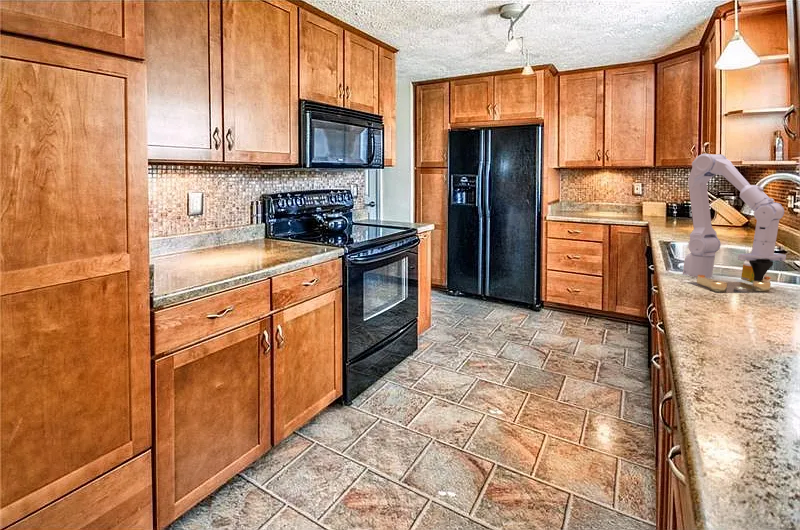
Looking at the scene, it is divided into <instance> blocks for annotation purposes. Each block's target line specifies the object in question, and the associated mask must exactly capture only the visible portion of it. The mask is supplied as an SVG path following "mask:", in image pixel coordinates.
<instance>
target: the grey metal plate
mask: <svg viewBox="0 0 800 530" xmlns="http://www.w3.org/2000/svg"><path fill="white" fill-rule="evenodd" d="M725 282H726V283H728V284H727V291H726V292H717V291H712V290H710V288H709V287H706V286H703V285H700V284H698V283H697V281H695V282H693V281H689V282H687V283H688V284H690V285H693V286H695V287H698V288H701V289H703V290H706V291H709V292H712V293H715V294H759V293H761V294H766V293H769V294H772V293H773V294H775V292H774V291H771V290H770V291H769V292H762V291H756V290H753V289H752V287H753V284H752V285H751V284H749V283H746V282H741V281H725Z"/></svg>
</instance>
